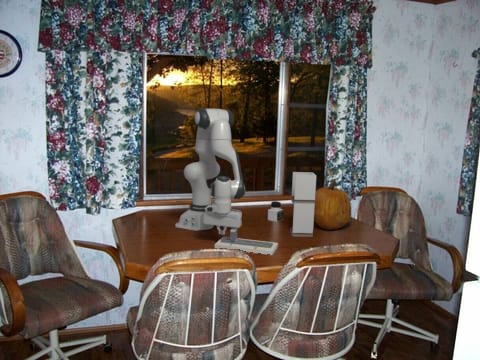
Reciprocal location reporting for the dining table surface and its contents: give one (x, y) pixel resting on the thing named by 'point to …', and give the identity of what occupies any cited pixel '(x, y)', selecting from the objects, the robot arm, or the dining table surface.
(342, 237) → the dining table surface
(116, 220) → the dining table surface
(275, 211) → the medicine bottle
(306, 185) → the light grey rectangular tower
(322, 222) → the pumpkin
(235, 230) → the fader tab
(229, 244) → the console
